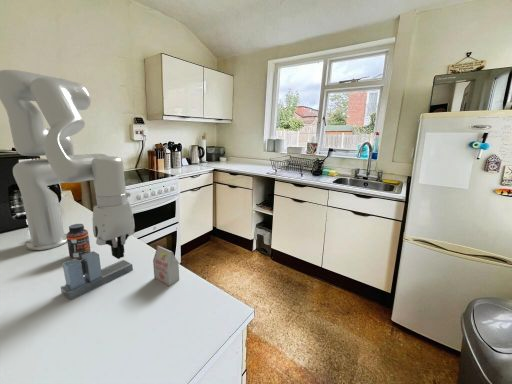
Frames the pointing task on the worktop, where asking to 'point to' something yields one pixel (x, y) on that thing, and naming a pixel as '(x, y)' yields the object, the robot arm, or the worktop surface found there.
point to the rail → (81, 285)
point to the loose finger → (91, 265)
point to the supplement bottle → (78, 241)
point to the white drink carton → (165, 266)
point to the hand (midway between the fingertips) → (118, 256)
